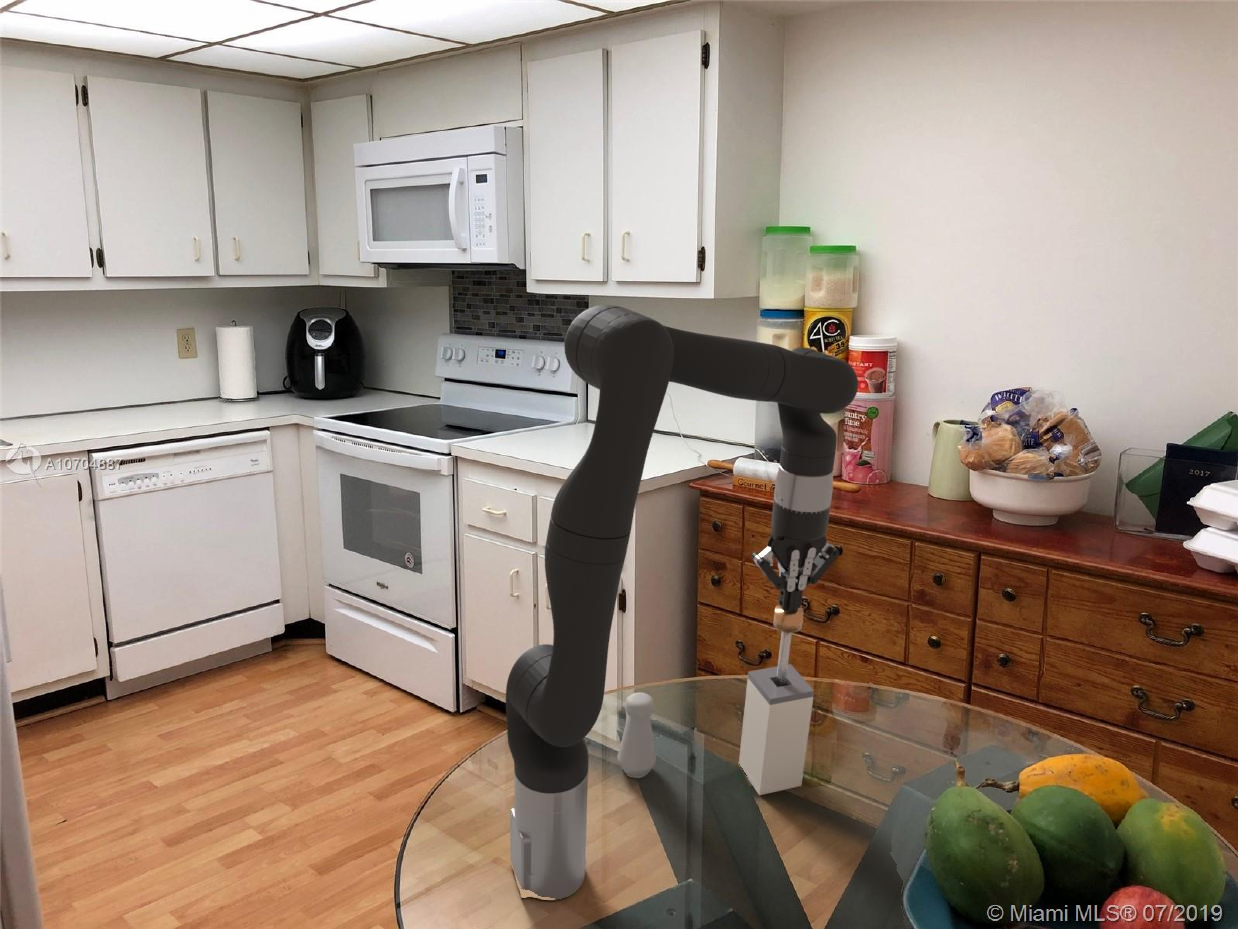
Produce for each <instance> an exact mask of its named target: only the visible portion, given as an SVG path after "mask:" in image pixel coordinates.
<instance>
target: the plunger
mask: <svg viewBox="0 0 1238 929" xmlns="http://www.w3.org/2000/svg"><path fill="white" fill-rule="evenodd" d="M804 613H805V612H804V609H803V608H802V607H801V606H800V608H798V611H797V612H796V613H790V614H787V613H786V612H785V611H784V610H783V609H782V608H781V607H780V606H779V604H777V605H775V608H774V613H773V624H772V625H773V627H774V628H775V629H776V630H778V631H780V632H781V636H780V641H779V642H780V643H779V653H778V660H777V661H778V662H777V666H778V668H777V676H776V686H777V687H781V686H785V684H786V676H787V667H788V664H789V660H790V659H789V657H790V651H791V650H790V649H791V643H792V642H791V641H792V633H794V634H795V633H798V632H800V631H801V630H802V628H803V623H804V622H803V621H804V620H803V619H804Z"/></svg>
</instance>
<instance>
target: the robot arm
mask: <svg viewBox="0 0 1238 929" xmlns="http://www.w3.org/2000/svg"><path fill="white" fill-rule="evenodd" d="M563 346H564V354H565V358H566V361H567V363H568V365H569V367H570V369H571V370H572V371H573V372H574V374H575V375H576V376H577V377H578V378H580V379H581V380H582V381H583V382H584V383H586V384H588V385H590V386H592V387H593V388H596V389H597V390H599V393H598V394H599V395H598V406H597V412H596V417H595V418H596V419H595V421H594V422H595V423H594V427H593V432H592V436H591V439H590V442H589V445H588V447H587V449H586V451H585V452H584V455H583V456H582V457H581V459H580V460H579V461H578V462H577V464H576V466H575V467H574V468H573V469H572V471H571V472H570V473H569V474H568V476H567V478H566V479H565V481H564V482H563V483H562V485H561V486H560V488H559V489H558V492H557V493H556V496H555V499H554V502H553V504H552V508H551V512H550V519H549V524H548V529H547V534H546V541H545V545H544V546H545V547H544V573H545V581H546V586H547V593H548V598H549V604H550V609H551V616H552V618H551V619H552V626H553V627H552V628H553V629H552V630H553V639H552V640H553V641H552V644H547V643H546V644H539V645H535V646H533V647H531V648H528V649H527V650H526V651H525V652H523V653H522V654H521V655H520V656H519V657H518V658H517V659H516V661H515V663H514V664H513V666H511V669H510V672H509V674H508V678H507V682H506V688H505V713H506V717H505V718H506V732H507V734H506V735H507V742H508V748H509V751H510V754H511V757H512V760H513V765H514V767H513V769H514V770H513V771H514V775H513V776H514V777H513V778H514V779H513V780H514V787H513V788H514V789H513V790H514V808H511V809H510V812H509V815H510V816H509V818H510V820H509V821H510V825H509V826H510V831H509V833H510V836H509V838H510V863H511V862H512V865H513V868H514V871H515V874H516V876H517V879H518V881H519V884H520V886H521V889H523V890H524V889H525V890H530V891H532V892H534V893H535V894H537V895H538V896H541V897H550V898H555V899H560V900H563V899H562V898H564V899H565V897H566V898H568V897H570V896H572V895H573V894H575V893H576V892H577V891H578V890H579V889H581V887H582V885H583V884H584V881H585V878H586V877H585V876H586V862H587V861H586V860H587V859H586V858H587V857H586V850H587V849H586V848H587V825H588V824H587V822H588V821H587V818H588V816H587V815H588V791H589V790H588V789H589V788H588V785H589V750H588V747H587V744H586V742H585V740H584V738H586V737H587V736H588V734H589V733H590V732H591V731H592V729H593V727H594V726H595V724H596V723H597V721H598V719H599V716H600V714H601V710H602V707H603V702H604V698H605V696H604V695H605V689H606V688H605V687H606V680H607V679H606V678H607V666H608V665H607V664H608V656H609V655H608V654H609V646H610V639H611V638H610V637H611V629H612V624H613V619H614V614H615V610H616V609H615V608H616V603H617V596H618V592H619V587H620V581H621V576H622V572H623V569H624V568H623V567H624V564H625V559H626V556H627V550H628V547H629V544H630V543H629V542H630V536H631V533H632V527H633V526H632V525H633V520H634V514H635V509H636V503H637V498H638V494H639V491H640V486H641V481H642V477H643V474H644V473H643V472H644V468H645V464H646V460H647V456H648V450H649V447H650V443H651V440H652V437H653V434H654V431H655V429H656V428H655V427H656V425H657V422H658V418H659V415H660V412H661V410H662V405H663V404H664V399H665V397H666V392H667V390H668V387H669V384H670V383H675V384H678V385H682V386H687V387H690V388H694V389H698V390H701V391H703V392H704V391H705V392H709V393H712V394H716V395H721V396H723V397H729V398H734V399H739V400H747V401H748V400H749V401H756V402H769V403H777V409H778V415H779V416H778V417H779V424H780V428H781V434H782V438H781V439H782V440H781V448H780V456H779V457H780V458H779V463H778V464H779V466H778V470H777V473H776V478H775V484H774V485H775V486H774V492H773V504H772V513H771V522H770V525H771V534H770V537H769V538H768V540H767V545H766V546H767V547H766V548H764V549H763V550H762V551H761V552H760V553H759V552H758V551H755V552H753V553H752V554H751V559H752V560H753V562H754V563H755V564H756V566H757V567H758V568H759V570H760V571H761V572H762V573H763V575H764V576H765V577H766V579H767V580H768V581H769V582H770V583H771V585H773V586H774V587H775V589H777V590H779V593H778V605H779V606H780V607H781V608H782V609H783V610H784V611H785V612H786V613H787V614H790V613H796V612H797V611H798V608H800V607H801V606H802V601H803V600H802V599H803V594H804V590H805V588H806V587H807V586H808V585H816V583H818V581H819V580H820V579H821V578H822V577H823V576H824V574H825V573H826V572H827V571H828V569H829V568H830V567H831V566H832V564H833V563H834V562H835V561H836V560H837V559H838V557H839V555H840V550H838V549H837V548H836V547H835V546H834V545H833V544H831V543H830V542H828V538H827V535H826V534H827V532H828V530H829V529H828V528H829V527H828V526H829V520H830V512H831V504H832V497H833V489H834V465H835V459H836V451H837V444H838V443H837V442H838V441H837V440H838V437H837V433H836V431H835V429H834V428H833V426H831V425H830V424H829V423H828V422H827V421H826V420H825V419H824V418H823V416H822V415H821V414H823V415H824V414H826V415H829V414H835V413H838V412H841V411H842V410H844V409H846V408H847V407H848V406H849V405H851V404H852V403H853V401H854V400H855V398H856V395H857V393H858V389H859V379H858V375H857V373H856V370H854V368H853V367H852V366H851V364H850V363H848V362H847V361H846V360H843V359H841V358H839V357H836V356H833V355H830V354H827V353H824V352H821V351H818V350H817V349H813V348H811V347H803V346H801V347H795V348H793V349H791V350H789V349H787V348H785V347H782V346H779V345H775V344H771V343H765V342H762V341H761V342H759V341H754V340H747V339H741V338H735V337H727V336H719V335H712V334H705V333H701V332H700V333H698V332H693V331H688V330H684V329H678V328H675V327H670V326H666V325H663V324H662V323H661V322H660V321H657V320H655V319H653V318H651V317H649V316H646V315H644V314H641V313H639V312H636V311H633V310H632V309H628V308H626V307H623V306H620V305H615V304H614V305H613V304H602V305H601V304H598V305H596V306H591V307H590V308H588V309H585V310H583V311H582V312H581V313H580V314H579V315H577V316H576V317H575V318H574V319H573V321H572V322H571V324H570V325H569V327H568V329H567V330H566V335H565V337H564V345H563ZM773 557H774V558H775V560H776V561H777V568H778V572H779V575H778V574H777V572H776V571H775V569H773V567H772V566H774V562H773V561H774V559H773Z"/></svg>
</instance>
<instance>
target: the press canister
mask: <svg viewBox="0 0 1238 929" xmlns="http://www.w3.org/2000/svg"><path fill="white" fill-rule="evenodd" d="M777 668H778V665H777V666H773V667H772V666H771V667H768V668H762V669H761V668H759V669H755V670H750V671H747V672H748V673H747V680H746V681H747V682H746V691H745V700H744V701H745V703H744V710H743V720H742V728H741V729H742V730H741V740H740V749H739V757H738V758H739V759H738V765H739V764H740V766H741V767H742V768H743V770H744V772H745V773H746V775H747V776H746V775H745V776H746V778H747V777H748V778H747V780H748V781H749V783H750V784H751V785H752V786H753V788H754V789H755V791H756V793H757V794H758V795H759V796H762V795H767V794H771V793H777V792H781V791H784V790H788V789H793V788H797V787H798V788H799V787H802V785H803V784H802V783H803V775H804V769H805V762H806V754H807V747H808V740H809V733H810V732H809V731H810V724H811V717H812V711H813V703H814V698H815V690H814V688H813V687H811V685H810V684H809V683H808V681H807V680H805V678H803V677H802V675H801V674H800V673H799V671H797V669H796V668H795V667H794V666H793V665H792V664H791V663H788V667H787V676H786V684H785V686H781V687H777V686H776V676H777ZM740 766H739V767H740ZM744 772H743V773H744Z"/></svg>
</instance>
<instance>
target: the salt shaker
mask: <svg viewBox="0 0 1238 929" xmlns="http://www.w3.org/2000/svg"><path fill="white" fill-rule="evenodd" d="M624 710H625V711H626V714H627V719H626V722H625V725H624V729H623V734H622V738H621V742H620V746H619V749H618V752H617V761H618V763H619V766H620V767H621V769H623V770H624V771H623V770H622V771H623V773H626V774H627V775H626V774H625V775H626V776H627V777H628V776H633V777H634V776H642V775H643V774H645V773H647V772H648V771H649V770H651V769H652V770H653V768H654V767H655V763H656V760H657V755H656V754H657V753H656V746H655V743H654V736H653V728H652V723H651V716H652V715H653V714H654V710H655V701H654V698H653V697H652V696H650V695H649V694H647V693H645V692H635V693H631V694H630V695H628V696H627V698H626V700H625V704H624ZM652 770H651V771H652Z"/></svg>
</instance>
